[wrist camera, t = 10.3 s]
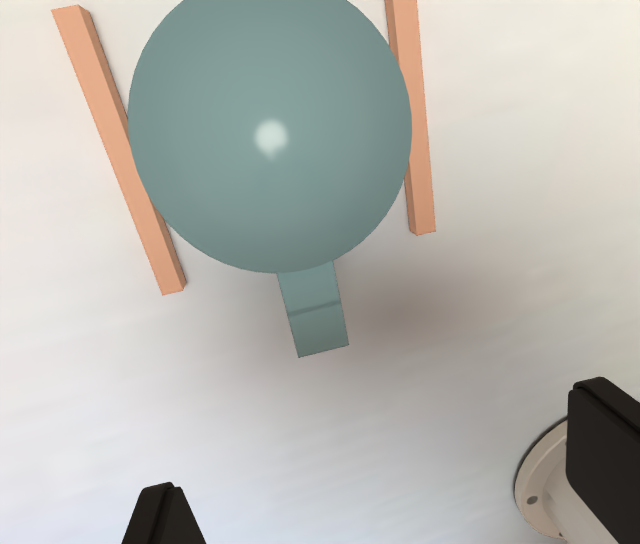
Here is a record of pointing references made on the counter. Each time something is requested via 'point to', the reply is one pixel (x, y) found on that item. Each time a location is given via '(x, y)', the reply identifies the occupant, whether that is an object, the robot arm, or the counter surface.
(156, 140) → the jug
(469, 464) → the counter surface
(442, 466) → the counter surface
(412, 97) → the strips
